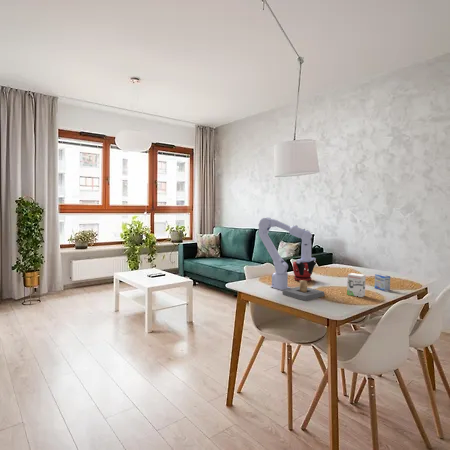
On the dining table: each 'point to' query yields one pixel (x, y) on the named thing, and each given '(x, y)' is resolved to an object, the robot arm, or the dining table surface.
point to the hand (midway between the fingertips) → (306, 274)
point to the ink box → (356, 284)
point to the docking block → (303, 296)
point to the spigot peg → (303, 286)
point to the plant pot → (297, 274)
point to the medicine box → (382, 282)
